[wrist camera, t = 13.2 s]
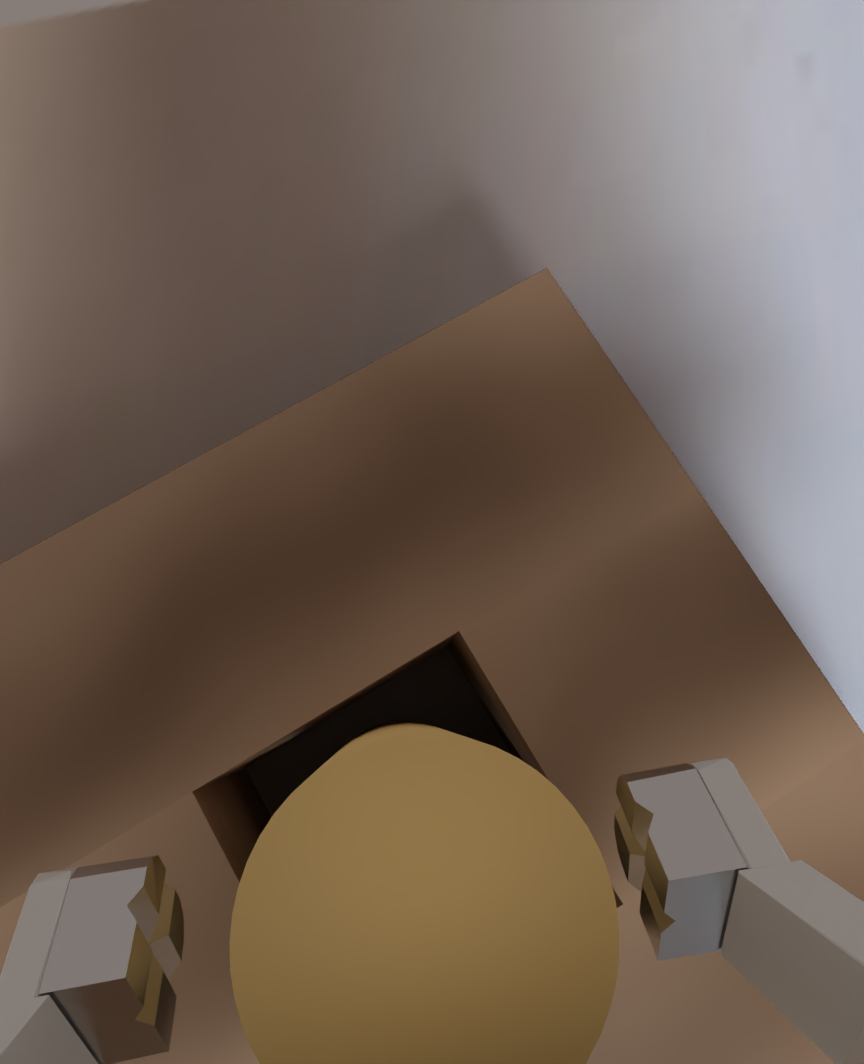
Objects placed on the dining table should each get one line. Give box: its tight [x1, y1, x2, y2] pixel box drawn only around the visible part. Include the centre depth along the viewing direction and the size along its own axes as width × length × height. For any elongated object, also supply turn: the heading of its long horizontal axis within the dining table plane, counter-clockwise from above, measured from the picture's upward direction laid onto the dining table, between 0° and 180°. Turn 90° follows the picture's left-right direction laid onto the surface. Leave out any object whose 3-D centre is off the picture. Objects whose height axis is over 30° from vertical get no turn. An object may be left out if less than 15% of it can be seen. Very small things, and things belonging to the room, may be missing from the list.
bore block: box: [0, 268, 864, 1064], centre depth 16 cm, size 16×16×6 cm
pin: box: [230, 721, 619, 1064], centre depth 13 cm, size 4×4×10 cm
